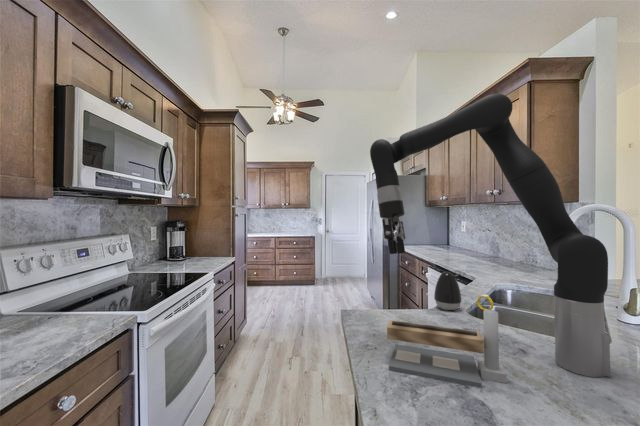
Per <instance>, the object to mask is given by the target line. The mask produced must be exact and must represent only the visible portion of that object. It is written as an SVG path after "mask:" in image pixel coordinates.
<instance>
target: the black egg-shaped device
mask: <svg viewBox="0 0 640 426" xmlns="http://www.w3.org/2000/svg"><path fill="white" fill-rule="evenodd" d="M460 277H462V274H461V273H458V274H453V273H452V272H450V271H443V272H441V274H440V276H439V277H438V279H437V281H436V285H435V288H434V295H433V297H434V298H433V299H434V300H435V304H436V306H437V307H439V309H441V308H442V309H441V310H443V309H446V310H445V311H448V310H453V311H456V310H457V309H459V308H460V305H461V303H462V293H461V289H460V286H459V283H458V281H457V279H459V278H460Z"/></svg>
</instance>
